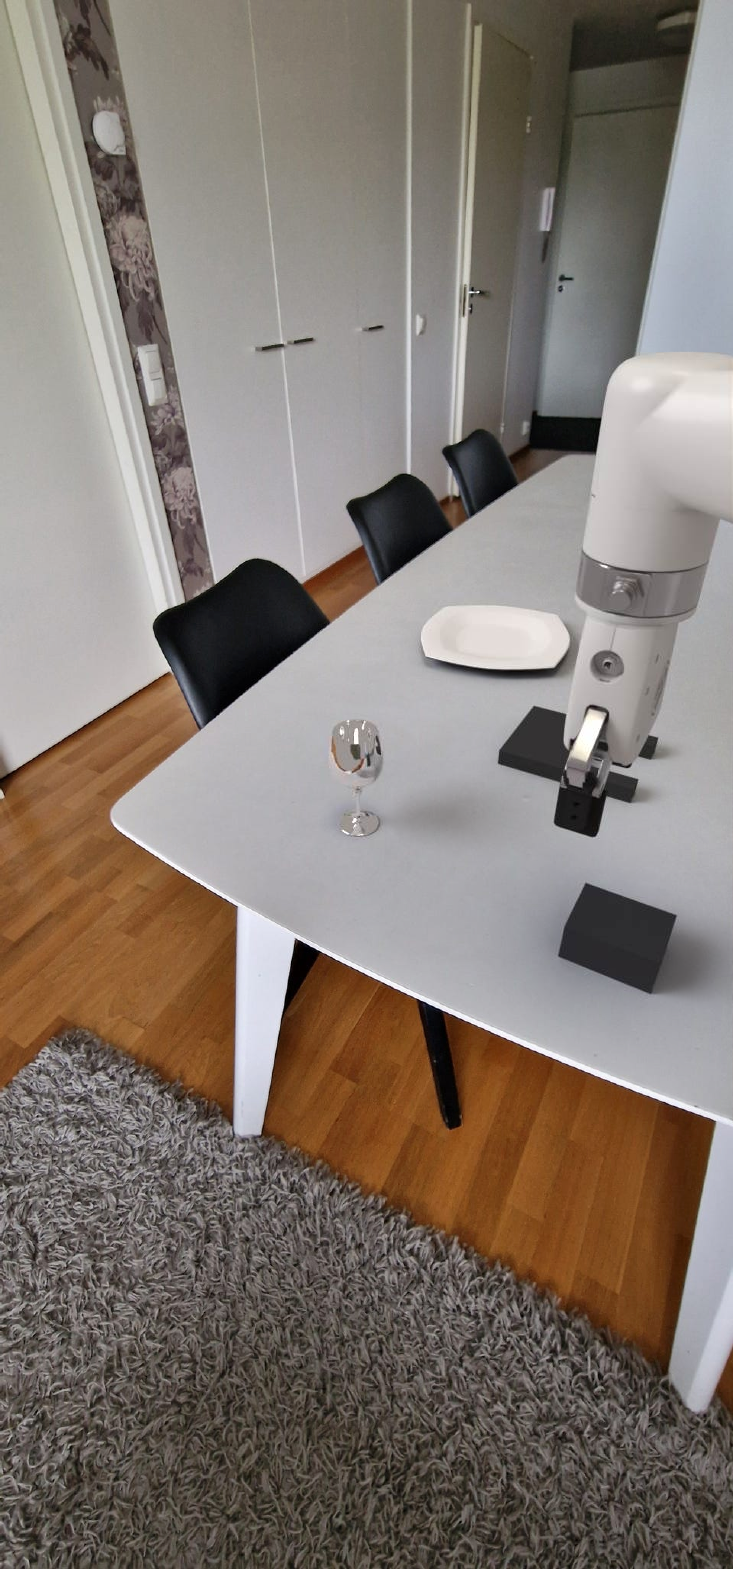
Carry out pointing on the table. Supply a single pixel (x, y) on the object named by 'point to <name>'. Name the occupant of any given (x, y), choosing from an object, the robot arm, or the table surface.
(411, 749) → the table surface
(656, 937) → the black rectangular block
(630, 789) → the socket pad
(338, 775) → the wineglass
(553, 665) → the plate
